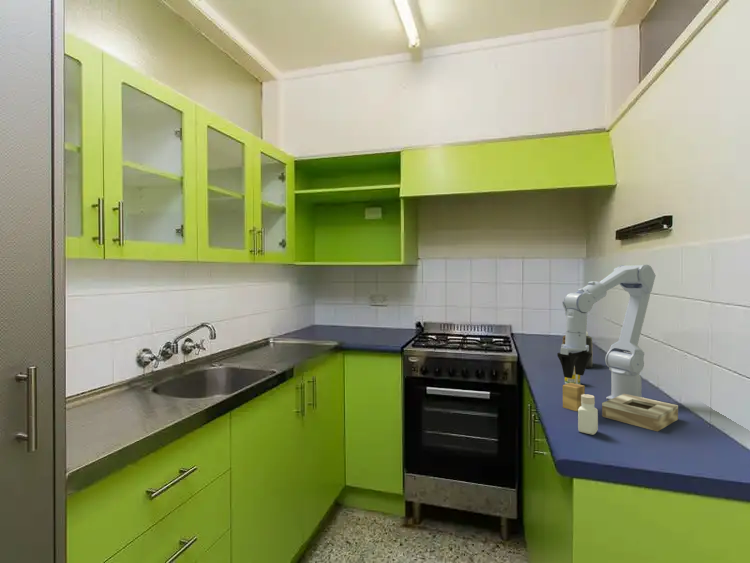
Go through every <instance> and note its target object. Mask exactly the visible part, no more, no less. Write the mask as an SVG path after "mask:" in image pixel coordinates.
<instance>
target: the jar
mask: <svg viewBox="0 0 750 563" xmlns="http://www.w3.org/2000/svg"><path fill="white" fill-rule="evenodd" d="M565 337H566V334H565V335H563V336H562V339H561V340H562V342H561V345H562V344H565ZM586 345H589V351H588V352H589V353H592V356H591V358H590V359H589V361H588V363H587V365H586V369H591V368H593V367H594V366H593V357H594V356H593V355H594V353H593V337H591V336H590V335H589V333H588V331H586Z"/></svg>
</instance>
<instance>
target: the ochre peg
mask: <svg viewBox="0 0 750 563" xmlns="http://www.w3.org/2000/svg"><path fill="white" fill-rule="evenodd" d="M585 389H586V388H585V385H582V384H580V385H579V384H574V383H568V384H565V383H564V384H563V385H562V408H564V409H566V410H570V411H574V412H578V409H579V407H580V406H581V395H583V394H585Z"/></svg>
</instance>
